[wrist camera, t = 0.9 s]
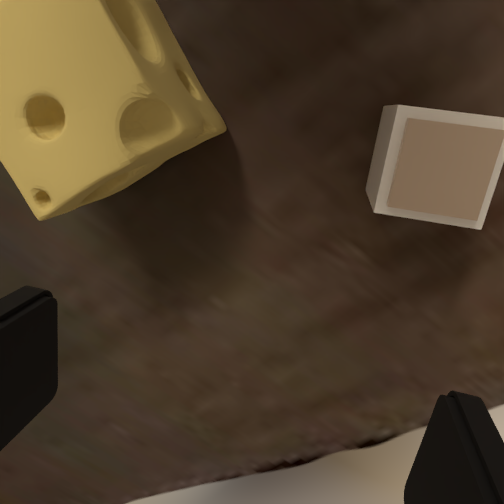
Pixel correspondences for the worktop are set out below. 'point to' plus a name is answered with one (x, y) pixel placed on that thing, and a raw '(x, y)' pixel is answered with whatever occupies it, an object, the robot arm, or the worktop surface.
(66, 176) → the cheese
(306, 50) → the worktop surface
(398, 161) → the white cube
